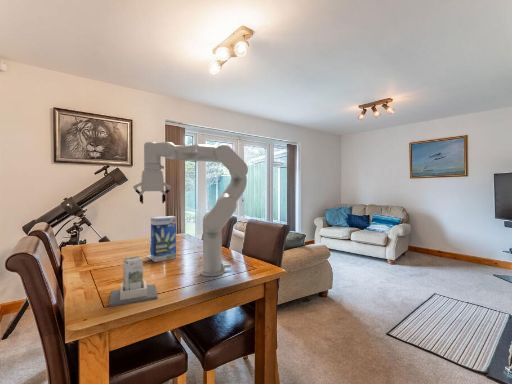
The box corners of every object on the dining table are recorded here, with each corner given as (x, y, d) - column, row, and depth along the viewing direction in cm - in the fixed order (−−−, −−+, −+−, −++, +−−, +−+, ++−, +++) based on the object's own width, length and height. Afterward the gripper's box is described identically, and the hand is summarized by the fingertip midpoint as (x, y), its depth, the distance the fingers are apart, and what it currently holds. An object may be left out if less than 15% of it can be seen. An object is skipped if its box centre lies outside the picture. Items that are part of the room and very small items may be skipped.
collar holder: (154, 286, 118) (154, 277, 118) (157, 298, 106) (157, 288, 106) (111, 292, 111) (111, 283, 111) (108, 307, 98) (108, 296, 98)
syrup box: (137, 289, 112) (137, 255, 112) (143, 293, 108) (142, 258, 108) (123, 293, 108) (123, 257, 108) (128, 297, 104) (128, 261, 104)
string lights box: (154, 262, 154) (154, 218, 154) (150, 259, 160) (150, 217, 159) (176, 258, 163) (176, 216, 162) (171, 255, 169) (171, 215, 168)
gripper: (170, 168, 136) (170, 202, 136) (132, 167, 128) (133, 203, 129) (172, 168, 129) (172, 203, 129) (132, 167, 122) (133, 204, 122)
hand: (152, 203), depth 129 cm, fingers open, 9 cm apart
